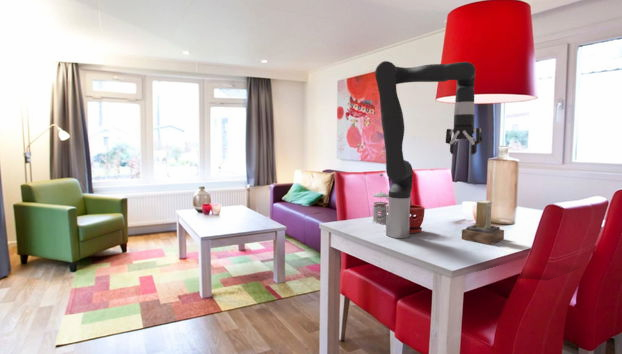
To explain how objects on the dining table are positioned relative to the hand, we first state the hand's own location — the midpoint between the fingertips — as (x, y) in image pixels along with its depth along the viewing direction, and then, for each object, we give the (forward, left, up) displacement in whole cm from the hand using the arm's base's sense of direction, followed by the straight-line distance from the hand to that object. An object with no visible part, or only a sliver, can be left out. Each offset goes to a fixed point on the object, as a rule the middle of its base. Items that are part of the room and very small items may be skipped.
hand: (462, 154), depth 153 cm
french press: (-46, +7, -36) cm, 59 cm away
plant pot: (-24, -1, -36) cm, 44 cm away
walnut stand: (+5, +10, -36) cm, 38 cm away
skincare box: (+5, +10, -32) cm, 34 cm away
